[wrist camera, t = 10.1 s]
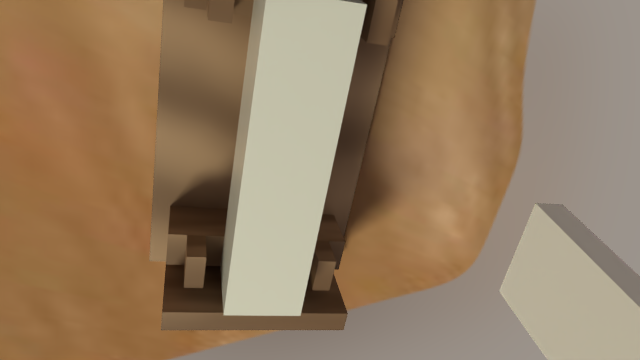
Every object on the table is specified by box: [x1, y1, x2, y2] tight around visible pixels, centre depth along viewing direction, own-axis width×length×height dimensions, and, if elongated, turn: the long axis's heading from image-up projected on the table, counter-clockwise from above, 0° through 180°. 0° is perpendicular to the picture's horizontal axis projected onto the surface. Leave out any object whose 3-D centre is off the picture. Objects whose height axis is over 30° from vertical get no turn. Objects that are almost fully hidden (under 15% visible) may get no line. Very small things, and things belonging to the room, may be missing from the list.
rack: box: [149, 0, 403, 330], centre depth 29 cm, size 20×12×7 cm, turn 170°
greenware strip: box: [220, 0, 367, 316], centre depth 26 cm, size 16×4×4 cm, turn 170°
